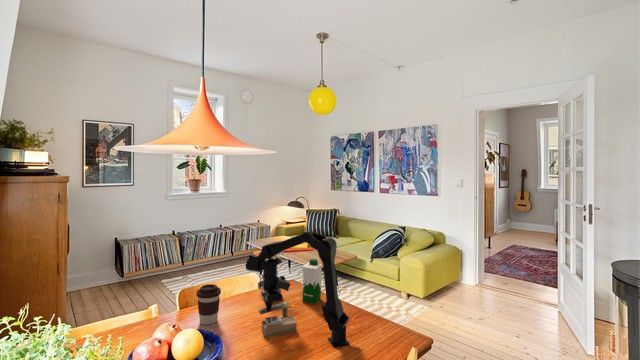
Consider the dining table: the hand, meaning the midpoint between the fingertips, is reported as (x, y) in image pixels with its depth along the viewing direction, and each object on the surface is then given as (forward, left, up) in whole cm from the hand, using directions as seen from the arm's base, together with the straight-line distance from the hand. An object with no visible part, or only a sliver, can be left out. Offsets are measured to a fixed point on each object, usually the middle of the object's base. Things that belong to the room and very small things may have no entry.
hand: (268, 311), depth 135 cm
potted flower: (+31, -9, -7) cm, 33 cm away
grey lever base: (-1, -3, -7) cm, 8 cm away
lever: (+2, -3, -1) cm, 4 cm away
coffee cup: (+14, +23, -7) cm, 28 cm away
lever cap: (-4, -1, -3) cm, 5 cm away
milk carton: (+20, -26, -7) cm, 34 cm away
